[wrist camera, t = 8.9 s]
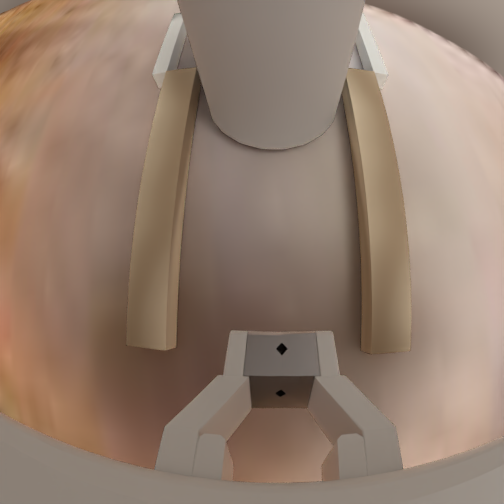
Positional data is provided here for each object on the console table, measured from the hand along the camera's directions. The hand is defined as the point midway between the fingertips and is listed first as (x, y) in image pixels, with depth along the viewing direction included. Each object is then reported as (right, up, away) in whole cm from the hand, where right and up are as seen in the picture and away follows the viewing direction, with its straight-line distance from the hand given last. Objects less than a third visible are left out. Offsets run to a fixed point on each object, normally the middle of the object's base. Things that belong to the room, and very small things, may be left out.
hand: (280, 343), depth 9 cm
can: (0, +11, +8) cm, 14 cm away
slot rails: (0, +6, +7) cm, 9 cm away
